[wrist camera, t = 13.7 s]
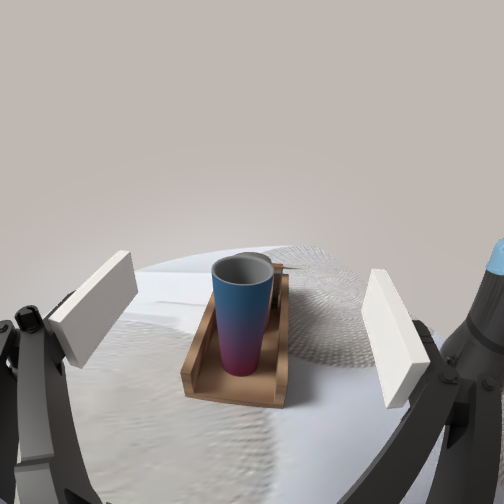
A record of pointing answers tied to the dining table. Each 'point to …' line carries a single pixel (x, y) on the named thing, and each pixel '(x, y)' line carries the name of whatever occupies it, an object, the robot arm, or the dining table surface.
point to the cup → (241, 310)
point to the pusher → (275, 289)
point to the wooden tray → (247, 387)
